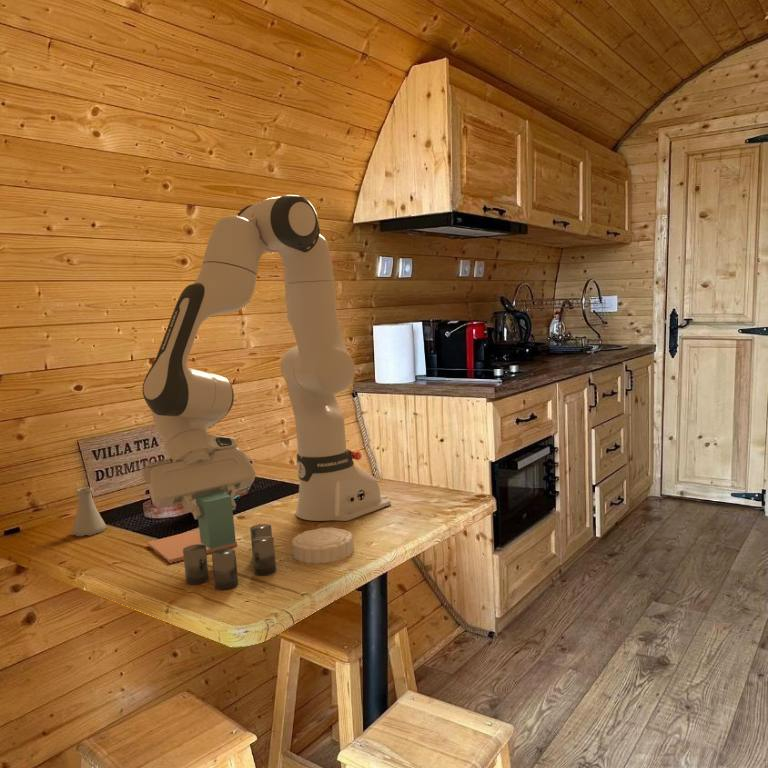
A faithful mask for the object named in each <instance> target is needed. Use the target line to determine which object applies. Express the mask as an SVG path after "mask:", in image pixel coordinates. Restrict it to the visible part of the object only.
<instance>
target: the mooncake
mask: <svg viewBox="0 0 768 768" xmlns="http://www.w3.org/2000/svg"><path fill="white" fill-rule="evenodd" d="M354 545H355V542H354V535H353V534H352V533H351V532H350V531H348V530H346V529H343V528H342V529H341V528H336V527H331V526H330V527H319V528H316V529H310V530H305V531H303V532H300V533H298V534H297V535H296V536H295V537H293V538H292V540H291V551H292V552H291V553H292V557H293V559H294V560H297V561H298V562H302V563H303V562H304V563H305V564H311V563H312V564H316V565H317V564H328V563H330V562H331V563H334V562H335V563H336V562H338V561H340V560H344V559H345V558H347V557H350V556H351V554H352V553H354V551H355V546H354Z"/></svg>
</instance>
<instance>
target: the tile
mask: <svg viewBox="0 0 768 768" xmlns="http://www.w3.org/2000/svg"><path fill="white" fill-rule="evenodd" d="M197 544H202V543H201V540H200V531H199V528H198V529H196V530H191V531H186V532H183V533H179V534H174V535H170V536H167V537H162V538H159V539H155V540H150V541H147V542H146V545H149V546H150V547H151V548H152V549H154V550H155V551H156V552H157V553H158V554H160V555H161V556H162V557H163V558H164V559H166V560H167V561H168V562H169V563H171V564H174V563H173V562H175V563H178V562H177V561H179V562H182V561H184V556H183V549H184V548H185V547H187V546H191V545H197ZM202 545H204V544H202ZM237 546H238V542H237V541H236V542H235V543H231V544H228V545H224V546H221V547H217V548H213V549H210V548H208V547H207V546H206V553H207V555H208V554H212V553H213V552H214V551H216V550H220V549H227V548H229V549H231V548H235V547H237ZM151 548H150V549H151ZM152 549H151V550H152ZM156 552H155V553H156ZM157 553H156V554H157ZM158 554H157V555H158ZM161 556H160V557H161ZM162 557H161V558H162ZM163 558H162V559H163ZM164 559H163V560H164ZM166 560H165V561H166ZM181 560H182V561H181ZM167 561H166V562H167ZM168 562H167V563H168ZM169 563H168V564H169Z"/></svg>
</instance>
